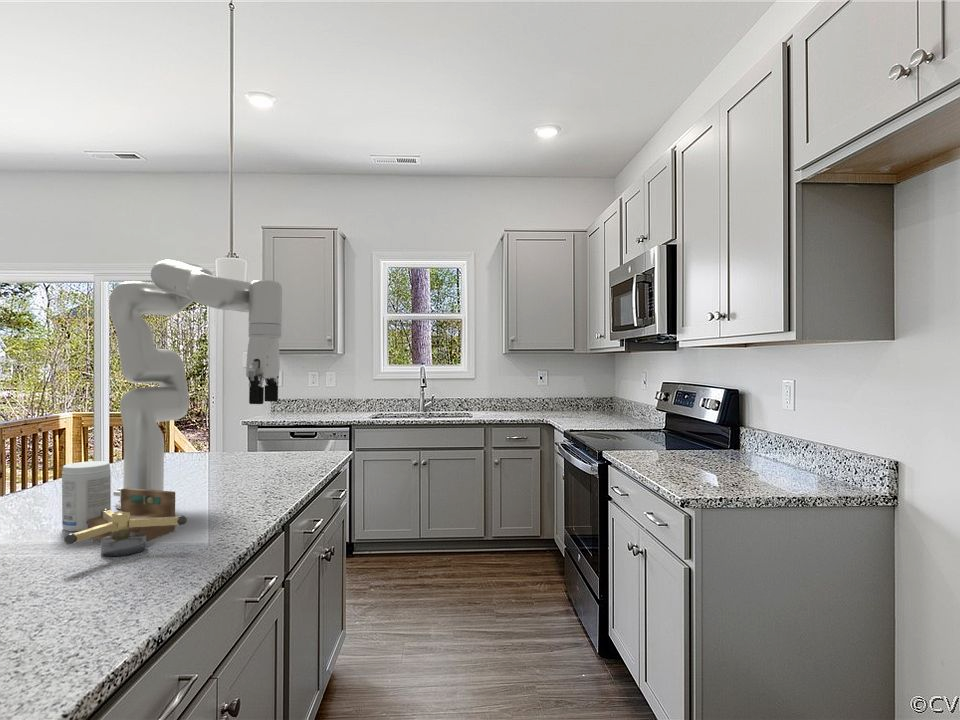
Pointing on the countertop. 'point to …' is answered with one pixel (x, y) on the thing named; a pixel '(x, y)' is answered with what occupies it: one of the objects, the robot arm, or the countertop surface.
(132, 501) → the level stand
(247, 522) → the countertop surface
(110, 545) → the tan branched rod piece
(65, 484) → the supplement tub
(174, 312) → the robot arm
